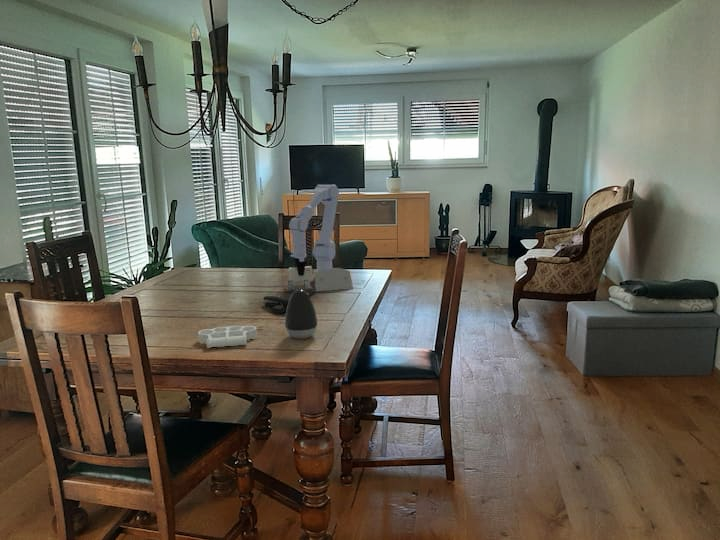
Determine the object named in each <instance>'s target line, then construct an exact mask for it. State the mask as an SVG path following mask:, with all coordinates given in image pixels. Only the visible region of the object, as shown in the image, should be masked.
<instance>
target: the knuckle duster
mask: <svg viewBox="0 0 720 540" xmlns="http://www.w3.org/2000/svg"><path fill="white" fill-rule="evenodd" d="M257 329H258V328H257V326H255V325H254V326H253V325H230V326H218V327H214V328H206V329H205V328H204V329H201V330H199V331H198V332H197V338H198V340H197V341H198V342H199V341H201V342H207V344H206V348H207V349H208V348H211V347H218V348H225V347H224V346H231V347H239V346H238V345H242V346H244V345H245V346H247V345H248V341H247V340H248V339H253V338H255V337H257V338H258V331H257ZM255 339H256V338H255ZM253 340H254V339H253ZM211 349H212V348H211Z"/></svg>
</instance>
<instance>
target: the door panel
mask: <svg viewBox="0 0 720 540" xmlns="http://www.w3.org/2000/svg"><path fill="white" fill-rule="evenodd" d="M288 276H289V280H293V282H294V283H297V282H304V279H309V281H313V267H312V265H309V266H308V265H307V266H305V270H304V275H303V276H299V274H298V270H297V267H296V266H294V267H288Z"/></svg>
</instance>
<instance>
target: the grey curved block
mask: <svg viewBox="0 0 720 540" xmlns="http://www.w3.org/2000/svg"><path fill="white" fill-rule="evenodd" d="M314 275H315V276H314V290H315V291H316V292H325V291H340V290H339V289H345V290H353V289H354V285H353V280H352V275H351V272H350V270H349V269H345V268H340V267H332V268H328V269H324V270H321V271H318V272H317V271H316V272H315V274H314Z"/></svg>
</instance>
